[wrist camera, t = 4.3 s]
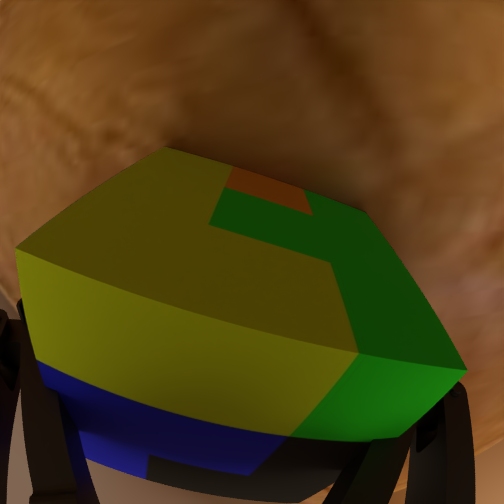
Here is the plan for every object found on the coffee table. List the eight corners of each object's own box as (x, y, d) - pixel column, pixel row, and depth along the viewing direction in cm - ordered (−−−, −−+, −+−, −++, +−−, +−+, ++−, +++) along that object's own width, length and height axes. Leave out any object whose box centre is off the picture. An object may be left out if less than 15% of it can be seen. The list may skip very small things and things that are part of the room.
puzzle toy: (135, 309, 18) (71, 451, 9) (164, 146, 13) (14, 247, 5) (290, 353, 19) (298, 503, 10) (365, 212, 14) (468, 370, 6)
